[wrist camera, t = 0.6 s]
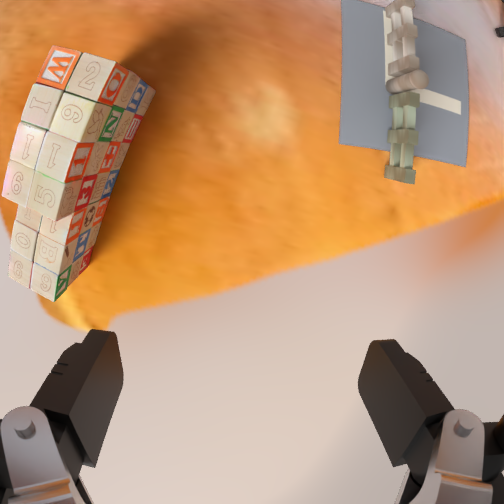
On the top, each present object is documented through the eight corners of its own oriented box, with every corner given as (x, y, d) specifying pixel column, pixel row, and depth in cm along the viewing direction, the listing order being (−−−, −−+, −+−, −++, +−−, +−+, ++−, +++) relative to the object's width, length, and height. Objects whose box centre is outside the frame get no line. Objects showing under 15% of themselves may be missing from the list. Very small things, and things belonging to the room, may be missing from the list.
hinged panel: (389, 96, 28) (409, 91, 24) (398, 98, 29) (419, 93, 24) (384, 177, 31) (404, 182, 27) (393, 178, 31) (414, 184, 27)
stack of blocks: (89, 267, 33) (38, 320, 22) (48, 246, 32) (-12, 288, 21) (157, 89, 28) (116, 59, 16) (108, 72, 27) (51, 42, 15)
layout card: (341, -3, 25) (342, -4, 25) (463, 40, 26) (465, 39, 26) (338, 143, 31) (339, 143, 30) (464, 166, 32) (465, 167, 32)
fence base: (382, 7, 25) (409, -14, 19) (396, 11, 25) (425, -8, 19) (384, 93, 29) (416, 84, 22) (399, 97, 29) (433, 90, 22)
